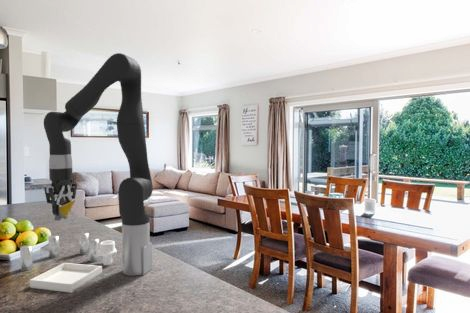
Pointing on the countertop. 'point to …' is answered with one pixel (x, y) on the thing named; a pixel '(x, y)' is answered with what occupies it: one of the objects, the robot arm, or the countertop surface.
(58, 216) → the stepped yellow cone
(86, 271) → the tray
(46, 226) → the countertop surface
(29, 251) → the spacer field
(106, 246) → the pipe fitting
